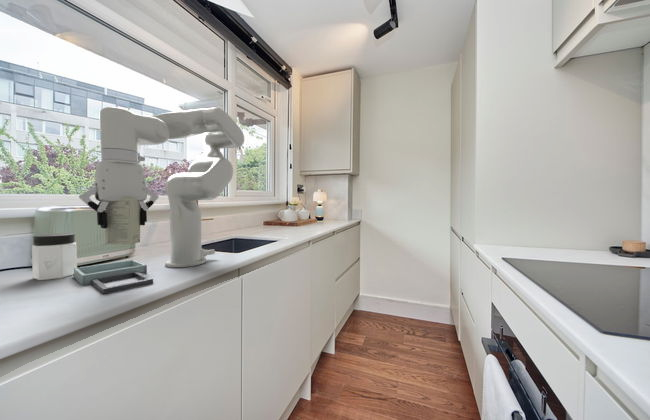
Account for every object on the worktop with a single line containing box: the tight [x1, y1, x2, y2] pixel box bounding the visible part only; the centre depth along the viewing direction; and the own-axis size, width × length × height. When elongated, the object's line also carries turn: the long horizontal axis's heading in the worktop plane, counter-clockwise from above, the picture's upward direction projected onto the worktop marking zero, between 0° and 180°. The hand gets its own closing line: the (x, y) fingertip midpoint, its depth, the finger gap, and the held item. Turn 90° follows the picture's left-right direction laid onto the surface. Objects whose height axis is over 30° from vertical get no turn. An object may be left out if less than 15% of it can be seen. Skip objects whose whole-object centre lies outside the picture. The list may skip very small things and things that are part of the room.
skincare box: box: [104, 198, 141, 246], centre depth 66 cm, size 6×4×12 cm
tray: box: [73, 259, 148, 286], centre depth 73 cm, size 14×12×2 cm
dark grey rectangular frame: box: [90, 271, 154, 295], centre depth 65 cm, size 10×12×1 cm
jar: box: [31, 232, 78, 281], centre depth 72 cm, size 9×8×12 cm
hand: (123, 225), depth 66 cm, fingers closed on skincare box, 7 cm apart
